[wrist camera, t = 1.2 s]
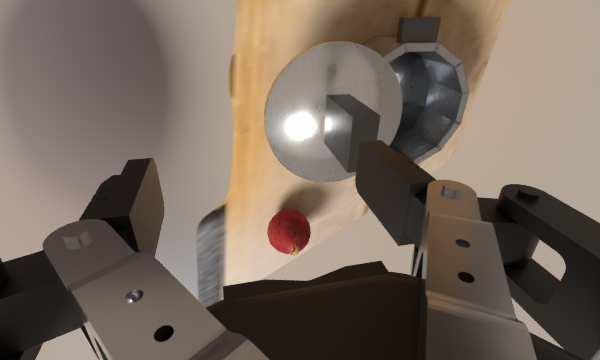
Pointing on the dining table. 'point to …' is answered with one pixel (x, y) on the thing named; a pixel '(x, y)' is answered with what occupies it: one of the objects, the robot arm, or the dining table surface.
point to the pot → (424, 86)
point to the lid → (331, 109)
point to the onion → (289, 231)
